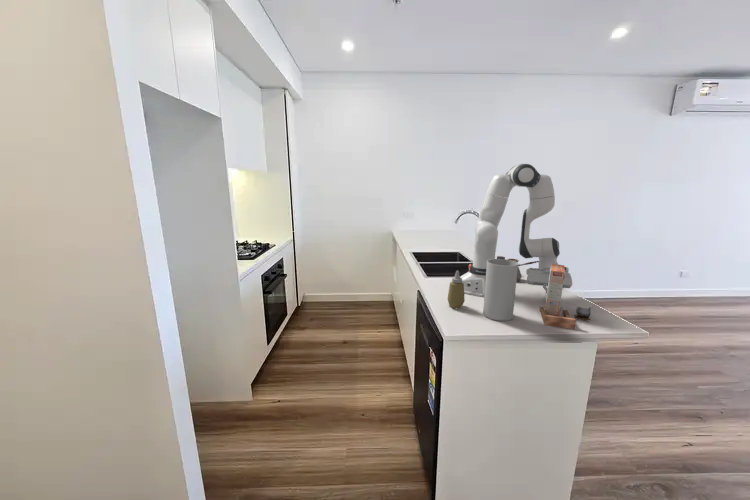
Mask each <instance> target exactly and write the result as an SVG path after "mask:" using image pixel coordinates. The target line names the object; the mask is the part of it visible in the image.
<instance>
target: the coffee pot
mask: <svg viewBox="0 0 750 500" xmlns="http://www.w3.org/2000/svg"><path fill="white" fill-rule="evenodd" d="M506 260H512V261H515V262H517V263H518V270H517V280H516V282H518V281H520V280H521V279H522V277H523V276H522V273H521V270H520V268H519V267H520V266H522V267H523V266H528V265H533V264H536V263H538V264H539V260H535V261H530V262H526V263H525V262H524V263H521V264H519V261H520V260H519V259H517V258H507V259H506Z"/></svg>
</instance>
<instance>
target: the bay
mask: <svg viewBox="0 0 750 500" xmlns="http://www.w3.org/2000/svg"><path fill="white" fill-rule="evenodd" d="M539 314H540V315H541V316H540V317H541V318H542V321H543V323H544V326H551V327H555V328H556V327H557V328H563V329H564V328H565V329H572V330H576V325H577V319H576V318H575V317H574V318H573V317H572V316H571V314H570V312H569V311H568V310H567V309H563V310H562V316H556V315H551V314H546V312H545V306H539Z"/></svg>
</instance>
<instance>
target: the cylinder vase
mask: <svg viewBox="0 0 750 500" xmlns="http://www.w3.org/2000/svg"><path fill="white" fill-rule="evenodd" d="M518 265H519V262H518V263H517V262H515V261H512V260H507V259H506V258H505V259H497V258H495V259H489V260H487V269H486V282H485V294H484V296H483V297H484V298H483V310H482V311H483V313H482V314H483V315H484V316H485V317H486V318H488V319H491V320H494V321H498V322H507V321H510V320H512V319H513V318H514V309H515V308H514V307H515V298H516V289H517V281H516V280H517V270H518V267H519V266H518Z"/></svg>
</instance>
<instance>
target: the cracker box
mask: <svg viewBox="0 0 750 500" xmlns="http://www.w3.org/2000/svg"><path fill="white" fill-rule="evenodd" d="M565 267H566V266H565V265H564V264H563V265H562V264H559V265H557V264H551V268H550V274H549V281H548V286H547V293H546V297H545V305H544V309H545V312H546V314H547V315H551V316H559V315H560V308H561V302H562V301H561V300H562V294H563V289H564V288H563V283H564V276H565ZM559 317H560V316H559Z"/></svg>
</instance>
